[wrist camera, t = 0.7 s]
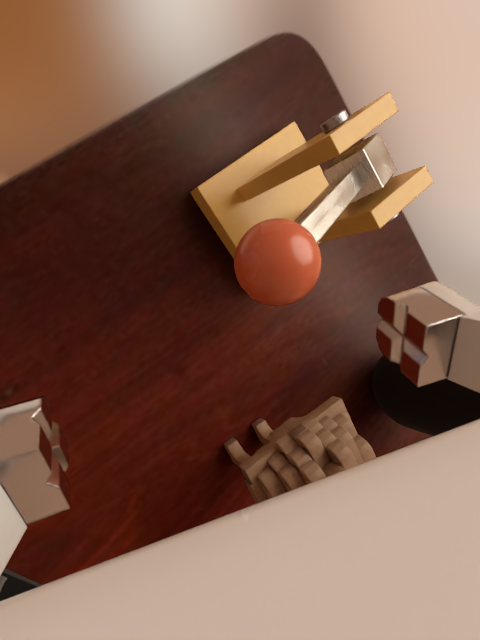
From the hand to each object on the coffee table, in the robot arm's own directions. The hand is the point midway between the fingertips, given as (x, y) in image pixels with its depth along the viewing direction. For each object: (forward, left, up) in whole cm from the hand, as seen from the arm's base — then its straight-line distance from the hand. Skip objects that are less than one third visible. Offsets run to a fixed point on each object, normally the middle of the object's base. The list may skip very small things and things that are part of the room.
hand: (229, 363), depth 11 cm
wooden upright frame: (0, +14, -19) cm, 24 cm away
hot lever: (0, +9, -8) cm, 12 cm away
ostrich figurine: (+17, +2, -19) cm, 26 cm away
